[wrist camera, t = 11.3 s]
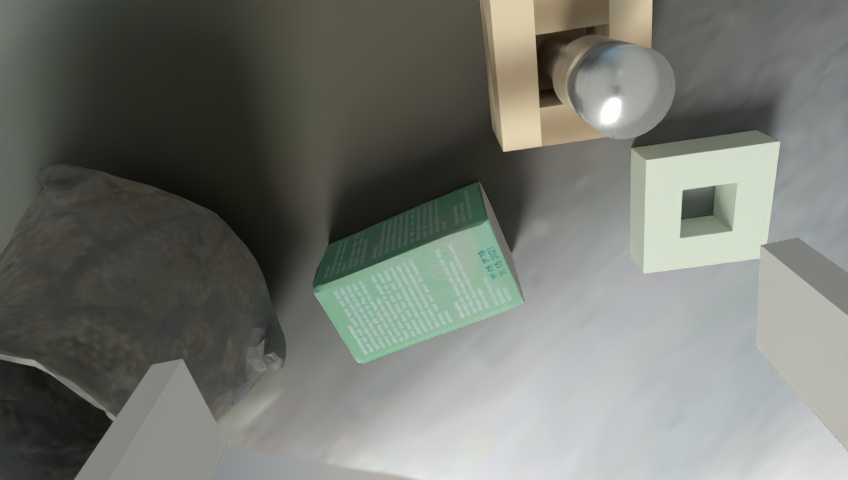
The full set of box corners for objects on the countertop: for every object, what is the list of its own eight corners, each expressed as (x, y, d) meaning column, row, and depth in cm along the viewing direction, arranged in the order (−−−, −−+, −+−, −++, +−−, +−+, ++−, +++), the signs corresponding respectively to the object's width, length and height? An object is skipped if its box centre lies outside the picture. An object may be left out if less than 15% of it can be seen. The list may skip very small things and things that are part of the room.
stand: (631, 148, 41) (646, 160, 38) (756, 130, 40) (780, 141, 37) (629, 255, 44) (643, 273, 42) (743, 240, 44) (764, 257, 41)
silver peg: (523, 30, 36) (581, 54, 23) (584, 19, 36) (677, 39, 23) (527, 91, 38) (584, 145, 25) (586, 82, 38) (673, 131, 25)
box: (321, 245, 44) (305, 293, 37) (478, 176, 42) (490, 215, 35) (364, 315, 47) (356, 372, 40) (512, 254, 45) (530, 304, 38)
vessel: (256, 114, 39) (118, 229, 21) (324, 361, 49) (268, 585, 31) (-30, 156, 41) (-390, 300, 23) (90, 389, 50) (-96, 622, 32)
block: (479, -7, 36) (489, -4, 31) (617, -29, 36) (653, -30, 30) (492, 128, 40) (503, 151, 35) (617, 109, 39) (648, 130, 34)
